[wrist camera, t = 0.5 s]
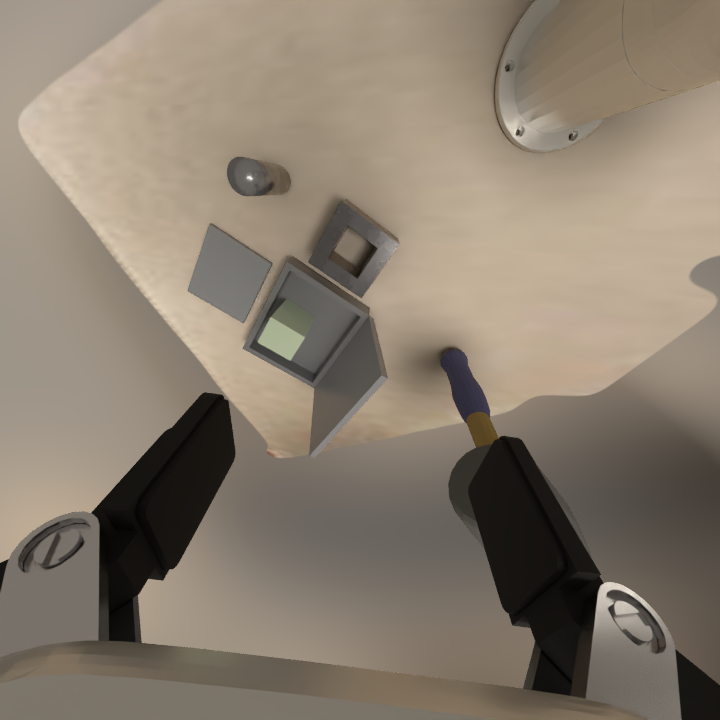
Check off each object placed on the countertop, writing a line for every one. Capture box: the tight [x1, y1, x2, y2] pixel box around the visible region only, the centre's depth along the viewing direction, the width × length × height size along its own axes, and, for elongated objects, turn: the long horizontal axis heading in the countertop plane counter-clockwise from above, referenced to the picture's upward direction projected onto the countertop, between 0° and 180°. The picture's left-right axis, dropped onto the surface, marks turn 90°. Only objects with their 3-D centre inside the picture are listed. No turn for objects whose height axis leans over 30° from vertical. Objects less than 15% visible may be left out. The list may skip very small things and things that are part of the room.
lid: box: [309, 316, 388, 458], centre depth 38 cm, size 16×13×1 cm
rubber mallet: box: [441, 349, 591, 557], centre depth 32 cm, size 12×8×30 cm, turn 37°
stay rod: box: [227, 157, 291, 196], centre depth 30 cm, size 3×3×10 cm
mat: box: [188, 224, 273, 323], centre depth 40 cm, size 11×9×1 cm
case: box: [243, 257, 370, 388], centre depth 42 cm, size 16×13×3 cm
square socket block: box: [308, 199, 399, 298], centre depth 35 cm, size 8×8×4 cm
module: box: [258, 299, 316, 360], centre depth 40 cm, size 4×5×7 cm
